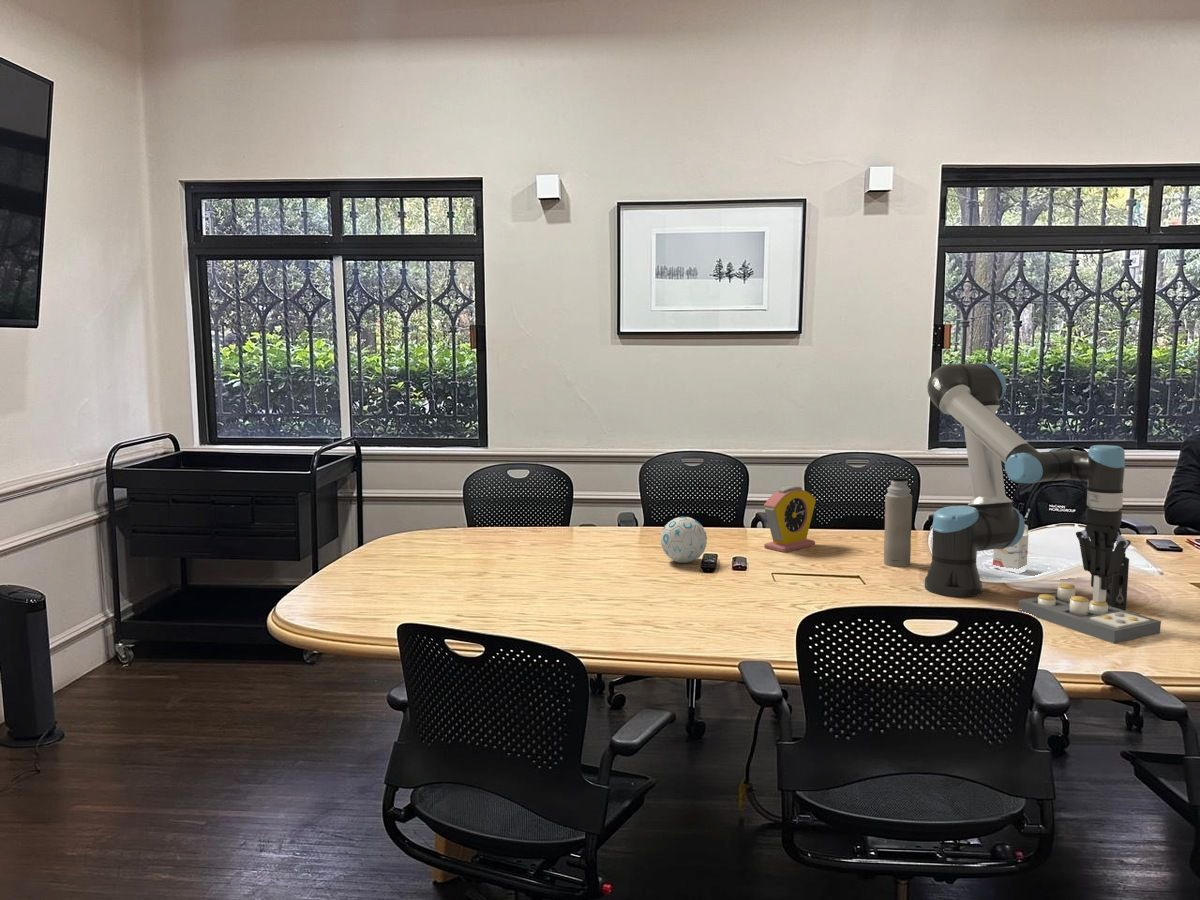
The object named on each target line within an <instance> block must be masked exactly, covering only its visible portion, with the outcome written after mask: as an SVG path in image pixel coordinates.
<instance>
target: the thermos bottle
mask: <svg viewBox="0 0 1200 900" xmlns="http://www.w3.org/2000/svg"><path fill="white" fill-rule="evenodd" d="M890 479H891V481H890V486H888V487H887V493H886V494H885V496H884V497H885V498H884V499H885V500H884V501H885V503H884V508H885V509H884V536H883V537H884V538H883V539H884V541H883V542H884V544H883V545H884V546H883V564H884V565H886V566H889V567H890V566H891V567H897V568H900V567H901V568H902V567H903V568H904V567H905V568H906V567H909V566H910V565H911V556H912V555H911V550H912V548H911V547H912V540H911V538H912V516H913V515H912V513H913V495H912V494H911V488H910V487H909V486H908V479H909V478H908V477H905V476H892V477H891V478H890Z"/></svg>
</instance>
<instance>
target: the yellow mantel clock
mask: <svg viewBox="0 0 1200 900" xmlns="http://www.w3.org/2000/svg"><path fill="white" fill-rule="evenodd" d="M816 501H817V499H816V497H815V496H813V494H811V493H810V492H808V491H807V490H803V487H801V486H795V485H786V486H783V487H780V489H778V490H777V491H775V492H774V493H772V494H771V495H770V497H768V498H767V500H766V502H765V503H764V504H763V508H764V512H765V516H766V519H767V522H768V523H767V524H768V526H769V530H770V534H771V537H772V541H769V542H766V543H764V544H763V545H764V548H765V549H766V548H767V550H772V551H776V552H778V553H789V552H792V551H797V550H802V549H805V548H809V547H813V546H815V545H816V541H815V540H813V539H808V538H807V537H808V534H809V533H808V532H809V531H810V526H811V521H812V517H813V513H814V509H815V505H816Z"/></svg>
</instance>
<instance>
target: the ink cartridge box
mask: <svg viewBox="0 0 1200 900" xmlns="http://www.w3.org/2000/svg"><path fill="white" fill-rule="evenodd" d="M1028 548H1029V525H1027V524H1025V529H1024V533H1023V536H1022V538H1021V539H1020V540H1019V542H1018V543H1017V544H1015V545H1014V546H1011V547H1007V548H1004V549H992V550H993V552H992V553H993V554H992V566H993V565H996V566H1000V567H1006V568H1013V569H1014V568H1016V569H1019V568H1021V567H1023V566H1025V565H1027V566H1028V550H1029V549H1028Z"/></svg>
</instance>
